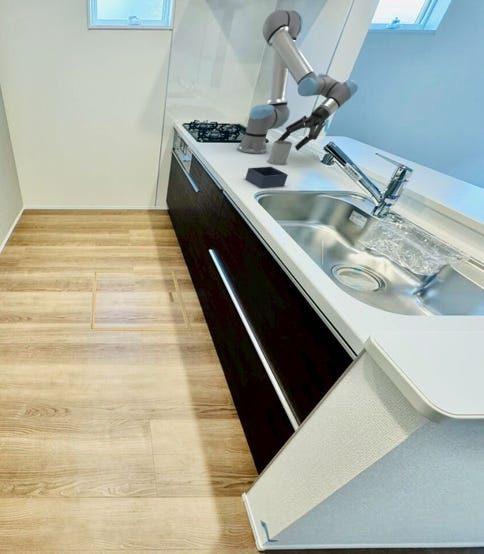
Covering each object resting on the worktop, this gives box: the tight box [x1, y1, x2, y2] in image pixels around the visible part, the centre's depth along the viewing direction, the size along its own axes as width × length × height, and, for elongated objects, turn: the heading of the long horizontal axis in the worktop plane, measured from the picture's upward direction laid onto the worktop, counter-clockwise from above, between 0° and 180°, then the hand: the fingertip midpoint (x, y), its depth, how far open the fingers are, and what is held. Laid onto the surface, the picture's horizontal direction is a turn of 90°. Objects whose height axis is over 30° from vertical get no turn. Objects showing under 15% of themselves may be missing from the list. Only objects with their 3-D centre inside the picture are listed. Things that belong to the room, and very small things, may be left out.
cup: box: [267, 140, 293, 166], centre depth 155 cm, size 8×8×10 cm
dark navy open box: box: [245, 166, 289, 189], centre depth 132 cm, size 12×12×5 cm
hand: (287, 145), depth 154 cm, fingers open, 13 cm apart
